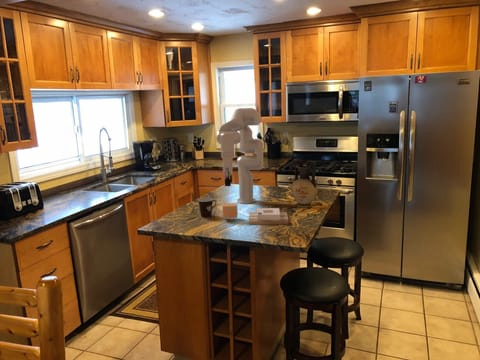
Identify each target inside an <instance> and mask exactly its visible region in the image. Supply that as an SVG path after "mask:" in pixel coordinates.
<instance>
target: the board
mask: <svg viewBox="0 0 480 360" xmlns="http://www.w3.org/2000/svg"><path fill="white" fill-rule="evenodd" d="M248 217H249V218H248V225H289V218H288V217H289V216H288V213H287V211H283V212H282V211H281V212H280V220H257V212H249V216H248Z"/></svg>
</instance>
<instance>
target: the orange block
mask: <svg viewBox="0 0 480 360" xmlns="http://www.w3.org/2000/svg"><path fill="white" fill-rule="evenodd" d="M238 216H239V215H238V202H236V203H235V202H230V203H227V202H225V203H223V204H222V218H223V219H228V220H229V221H232V220H234V219H237V218H238Z"/></svg>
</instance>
